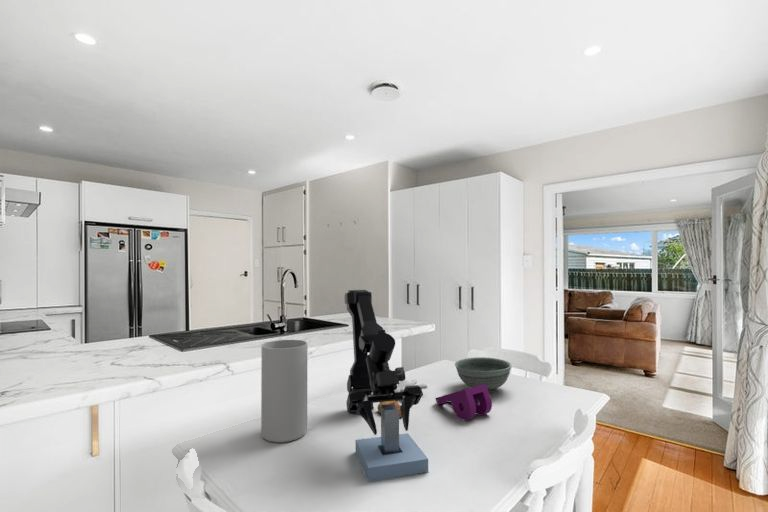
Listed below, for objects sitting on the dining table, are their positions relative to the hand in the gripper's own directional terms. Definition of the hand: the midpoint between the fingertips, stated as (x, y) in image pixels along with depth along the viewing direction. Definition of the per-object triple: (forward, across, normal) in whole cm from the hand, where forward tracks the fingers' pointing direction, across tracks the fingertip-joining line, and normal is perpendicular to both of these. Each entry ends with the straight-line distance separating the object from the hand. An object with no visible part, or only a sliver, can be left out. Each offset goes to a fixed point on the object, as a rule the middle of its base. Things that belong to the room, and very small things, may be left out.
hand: (391, 432), depth 92 cm
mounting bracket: (-13, +31, +25) cm, 42 cm away
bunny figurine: (-26, +18, +37) cm, 49 cm away
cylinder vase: (-12, -24, +23) cm, 35 cm away
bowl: (-25, +49, +36) cm, 66 cm away
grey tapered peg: (+4, 0, +6) cm, 8 cm away
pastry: (-16, +9, +27) cm, 33 cm away
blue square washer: (+4, 0, +6) cm, 8 cm away
